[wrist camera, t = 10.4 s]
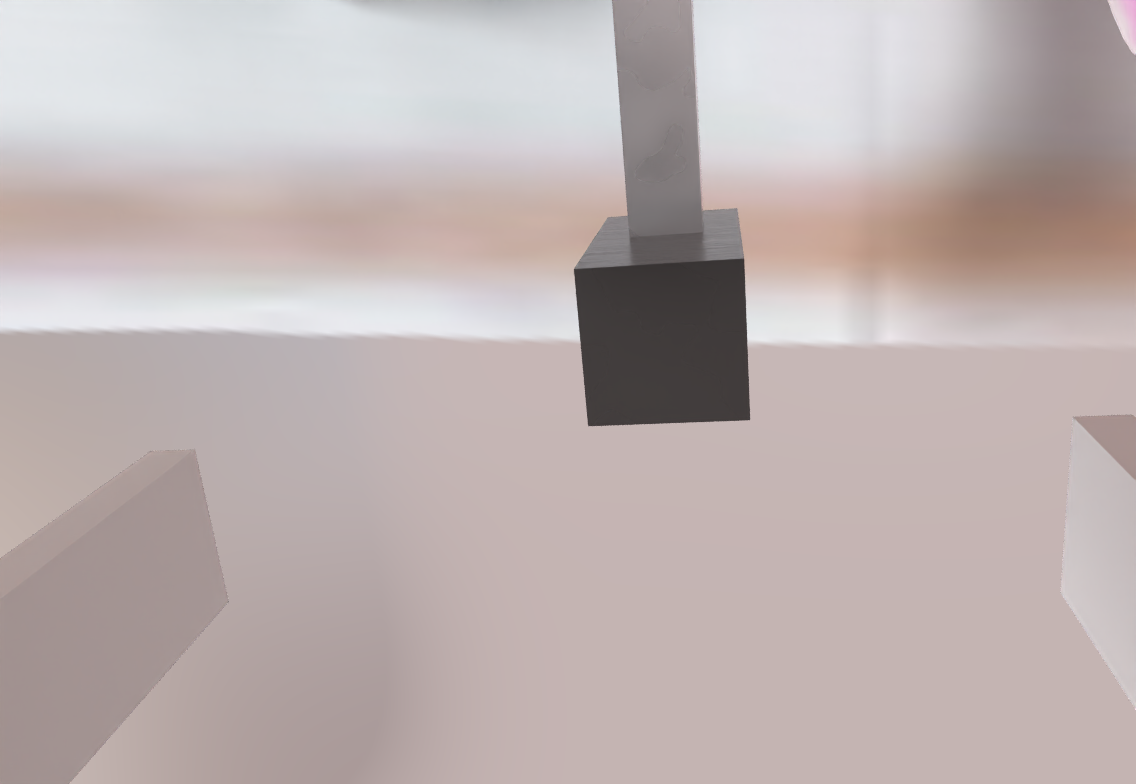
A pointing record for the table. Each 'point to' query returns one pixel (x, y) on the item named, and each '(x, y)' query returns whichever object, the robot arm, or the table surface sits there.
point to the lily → (1125, 20)
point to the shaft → (662, 249)
